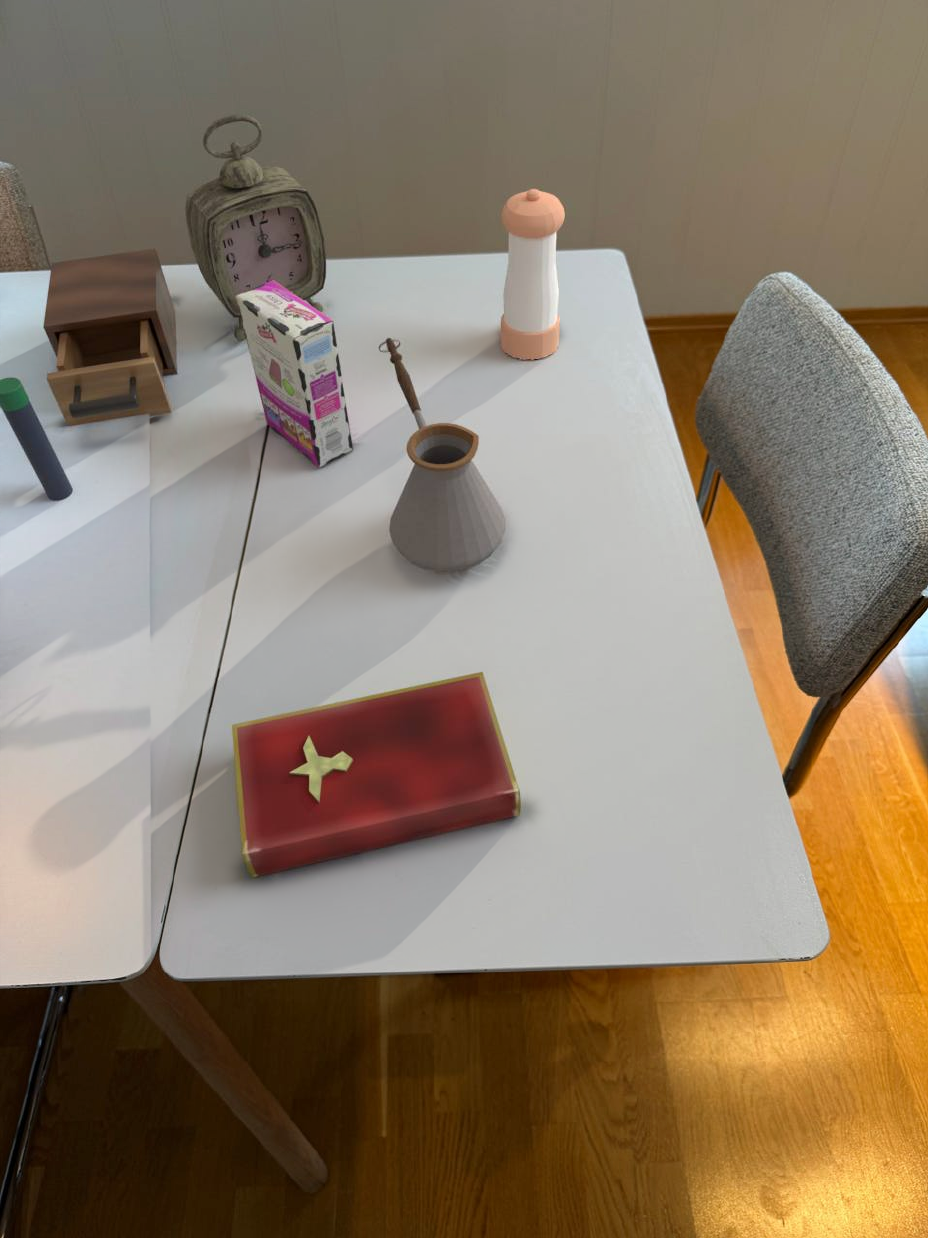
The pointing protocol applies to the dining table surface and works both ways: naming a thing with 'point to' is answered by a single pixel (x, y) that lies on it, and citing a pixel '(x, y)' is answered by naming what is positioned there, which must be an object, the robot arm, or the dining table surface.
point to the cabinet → (112, 297)
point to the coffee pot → (443, 494)
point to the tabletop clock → (254, 228)
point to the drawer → (109, 373)
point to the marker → (33, 439)
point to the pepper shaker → (531, 275)
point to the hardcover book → (370, 773)
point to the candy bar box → (297, 371)
